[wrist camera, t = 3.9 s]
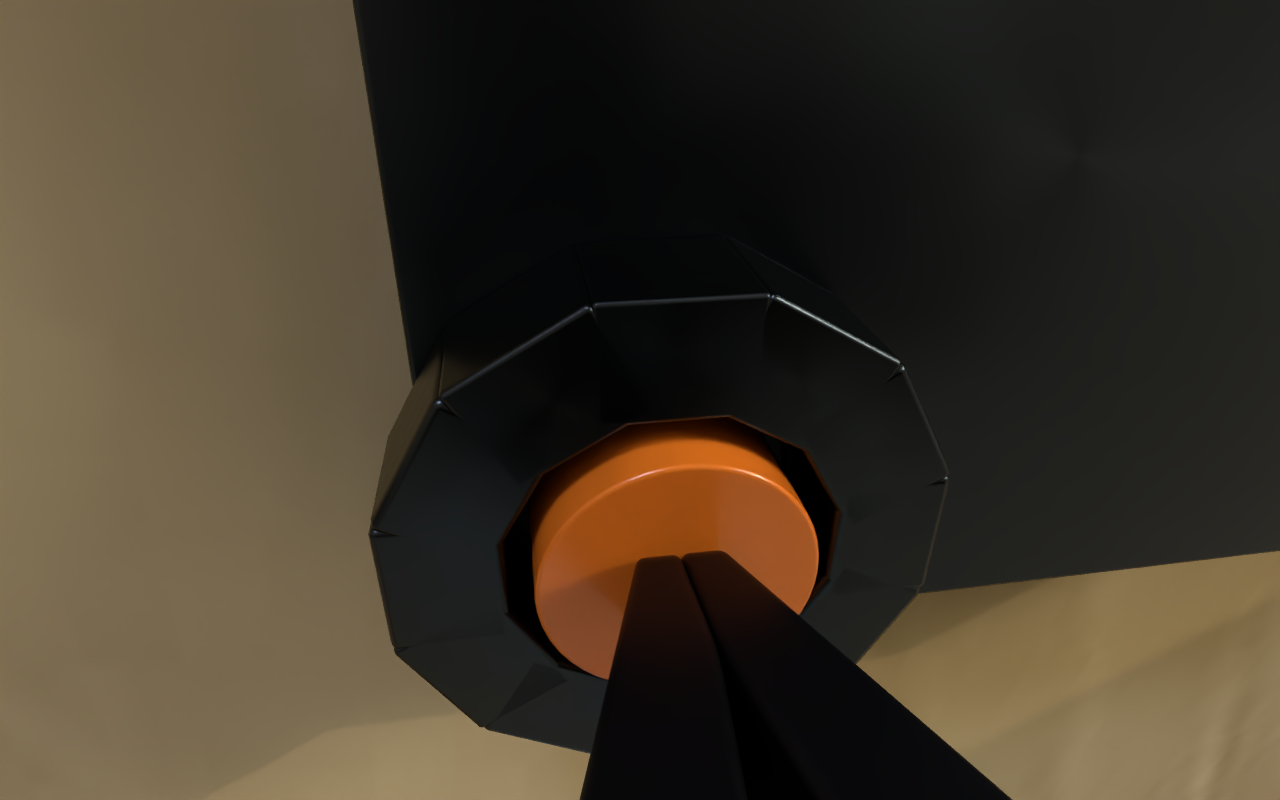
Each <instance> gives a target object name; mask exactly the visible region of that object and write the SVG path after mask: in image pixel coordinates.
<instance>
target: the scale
mask: <svg viewBox="0 0 1280 800" xmlns="http://www.w3.org/2000/svg"><path fill="white" fill-rule="evenodd" d="M353 7H354V13H355V20H356V26H357V33H358V39H359V45H360V52H361V58H362V65H363V71H364V78H365V84H366V90H367V97H368V103H369V110H370V116H371V122H372V129H373V135H374V142H375V148H376V155H377V161H378V167H379V174H380V180H381V187H382V193H383V200H384V206H385V212H386V219H387V225H388V232H389V238H390V245H391V251H392V257H393V264H394V270H395V277H396V283H397V290H398V296H399V302H400V309H401V315H402V322H403V328H404V335H405V341H406V347H407V354H408V360H409V367H410V373H411V380H412V386H413V387H412V390H411V392H410V394H409V396H408V398H407V400H406V402H405V404H404V406H403V408H402V410H401V412H400V414H399V416H398V418H397V420H396V422H395V424H394V426H393V428H392V430H391V432H390V434H389V436H388V440H387V444H386V449H385V454H384V459H383V464H382V468H381V473H380V478H379V483H378V488H377V492H376V497H375V502H374V507H373V511H372V516H371V525H370V529H369V534H368V535H369V539H370V544H371V549H372V554H373V559H374V563H375V568H376V573H377V578H378V582H379V587H380V592H381V597H382V602H383V606H384V611H385V616H386V621H387V625H388V630H389V635H390V640H391V643H392V645H393V647H394V651H395V654H396V655H397V656H398V657H399V658H400V659H402V660H403V661H404V662H405V663H406V664H407V665H409V666H410V667H411V668H412V669H413V670H414V671H416V672H417V673H418V674H419V675H420V676H421V677H423V678H424V679H425V680H426V681H427V682H428V683H429V684H431V685H432V686H433V687H434V688H435V689H436V690H438V691H439V692H440V693H441V694H442V695H443V696H445V697H446V698H447V699H448V700H449V701H450V702H452V703H453V704H454V705H455V706H456V707H457V708H459V709H460V710H461V711H462V712H463V713H464V714H466V715H467V716H468V717H469V718H470V719H471V720H472V721H474V722H475V723H476V724H477V725H478V726H479V727H485V728H486V729H487V730H490V731H494V732H499V733H503V734H507V735H512V736H516V737H520V738H525V739H529V740H533V741H538V742H542V743H546V744H551V745H555V746H559V747H564V748H568V749H572V750H577V751H581V752H585V753H590V754H591V750H592V746H593V742H594V737H595V733H596V729H597V725H598V721H599V717H600V712H601V708H602V704H603V700H604V696H605V691H606V687H607V683H608V680H606V679H603V678H600V677H597V676H595V675H593V674H591V673H589V672H587V671H585V670H583V669H581V668H579V667H578V666H576V665H575V664H573V663H572V662H570V661H569V660H568V659H567V658H566V657H565V656H563V655H562V654H561V653H560V652H559V651H558V650H557V648H556V647H555V646H554V645H553V644H552V642H551V641H550V640H549V638H548V637H547V635H546V633H545V631H544V630H543V628H542V626H541V623H540V620H539V617H538V615H537V610H536V604H535V597H534V582H533V568H532V553H531V539H530V525H529V510H528V499H529V498H530V496H531V494H532V493H533V491H534V489H535V488H536V486H537V484H538V483H539V481H540V479H541V478H542V476H543V474H545V473H547V472H548V471H550V470H552V469H554V468H555V467H557V466H559V465H561V464H562V463H564V462H566V461H567V460H569V459H571V458H573V457H574V456H576V455H578V454H580V453H581V452H583V451H585V450H586V449H588V448H590V447H592V446H593V445H595V444H597V443H599V442H600V441H602V440H604V439H605V438H607V437H609V436H611V435H612V434H614V433H616V432H617V431H619V430H621V429H623V428H624V427H626V426H628V425H635V424H647V423H659V422H672V421H684V420H696V419H709V418H721V417H729V418H731V419H734V420H736V421H738V422H740V423H743V424H745V425H747V426H749V427H752V428H754V429H756V430H758V431H761V432H762V434H763V435H764V437H765V439H766V441H767V442H768V444H769V446H770V448H771V449H772V451H773V453H774V455H775V457H776V458H777V460H778V462H779V464H780V465H781V467H782V469H783V471H784V473H785V474H786V476H787V478H788V480H789V481H790V483H791V485H792V487H793V488H794V490H795V492H796V494H797V496H798V497H799V499H800V501H801V503H802V504H803V506H804V508H805V510H806V511H807V513H808V515H809V517H810V519H811V522H812V524H813V526H814V529H815V532H816V536H817V540H818V550H819V560H818V571H817V576H816V580H815V584H814V587H813V589H812V592H811V594H810V597H809V599H808V601H807V603H806V604H805V606H804V608H803V610H802V612H801V613H800V614H799V616H800V617H802V618H803V619H804V620H805V621H806V622H807V623H808V624H810V625H811V626H812V627H813V628H814V629H815V630H817V631H818V632H819V633H820V634H821V635H822V636H823V637H825V638H826V639H827V640H828V641H829V642H830V643H832V644H833V645H834V646H835V647H836V648H837V649H839V650H840V651H841V652H842V653H843V654H844V655H845V656H847V657H848V658H849V659H850V660H851V661H852V662H854V663H855V664H857V662H858V661H859V660H860V659H861V658H862V657H863V656H864V655H865V653H866V652H867V651H868V650H869V649H870V648H871V647H872V646H873V644H874V643H875V642H876V641H877V640H878V639H879V638H880V637H881V635H882V634H883V633H884V632H885V631H886V630H887V629H888V628H889V626H890V625H891V624H892V623H893V622H894V621H895V620H896V619H897V617H898V616H899V615H900V614H901V613H902V612H903V611H904V610H905V608H906V607H907V606H908V605H909V604H910V603H911V602H912V601H913V599H914V598H915V597H916V596H917V595H918V594H921V593H929V592H938V591H946V590H954V589H963V588H971V587H980V586H988V585H997V584H1005V583H1013V582H1022V581H1030V580H1039V579H1047V578H1055V577H1064V576H1072V575H1081V574H1089V573H1097V572H1106V571H1114V570H1123V569H1131V568H1140V567H1148V566H1156V565H1165V564H1173V563H1182V562H1190V561H1198V560H1207V559H1215V558H1224V557H1232V556H1240V555H1249V554H1257V553H1266V552H1274V551H1280V0H353Z"/></svg>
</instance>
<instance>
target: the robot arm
mask: <svg viewBox="0 0 1280 800" xmlns="http://www.w3.org/2000/svg"><path fill="white" fill-rule="evenodd" d="M580 800H1012V799H1011V798H1010V797H1009V796H1007V795H1006V794H1005V793H1004V792H1003V791H1002V790H1000V789H999V788H998V787H997V786H996V785H995V784H994V783H992V782H991V781H990V780H989V779H988V778H987V777H985V776H984V775H983V774H982V773H981V772H980V771H979V770H977V769H976V768H975V767H974V766H973V765H972V764H970V763H969V762H968V761H967V760H966V759H965V758H963V757H962V756H961V755H960V754H959V753H958V752H957V751H955V750H954V749H953V748H952V747H951V746H950V745H948V744H947V743H946V742H945V741H944V740H943V739H941V738H940V737H939V736H938V735H937V734H936V733H935V732H933V731H932V730H931V729H930V728H929V727H928V726H926V725H925V724H924V723H923V722H922V721H921V720H920V719H918V718H917V717H916V716H915V715H914V714H913V713H911V712H910V711H909V710H908V709H907V708H906V707H904V706H903V705H902V704H901V703H900V702H899V701H898V700H896V699H895V698H894V697H893V696H892V695H891V694H889V693H888V692H887V691H886V690H885V689H884V688H882V687H881V686H880V685H879V684H878V683H877V682H876V681H874V680H873V679H872V678H871V677H870V676H869V675H867V674H866V673H865V672H864V671H863V670H862V669H861V668H859V667H858V666H857V665H856V664H855V663H854V662H852V661H851V660H850V659H849V658H848V657H847V656H845V655H844V654H843V653H842V652H841V651H840V650H839V649H837V648H836V647H835V646H834V645H833V644H832V643H830V642H829V641H828V640H827V639H826V638H825V637H823V636H822V635H821V634H820V633H819V632H818V631H817V630H815V629H814V628H813V627H812V626H811V625H810V624H808V623H807V622H806V621H805V620H804V619H803V618H802V617H800V616H799V615H798V614H797V613H796V612H795V611H793V610H792V609H791V608H790V607H789V606H788V605H786V604H785V603H784V602H783V601H782V600H781V599H780V598H778V597H777V596H776V595H775V594H774V593H773V592H771V591H770V590H769V589H768V588H767V587H766V586H764V585H763V584H762V583H761V582H760V581H759V580H758V579H756V578H755V577H754V576H753V575H752V574H751V573H749V572H748V571H747V570H746V569H745V568H744V567H743V566H741V565H740V564H739V563H738V562H737V561H736V560H734V559H733V558H732V557H731V556H730V555H729V554H727V553H725V552H723V551H720V550H715V551H705V552H696V553H688V554H685V555H684V556H683V557H682V558H681V559H680V558H679V557H677V556H675V555H667V556H658V557H648V558H642V559H640V560H638V562H637V563H636V566H635V570H634V574H633V578H632V582H631V587H630V591H629V595H628V599H627V603H626V608H625V612H624V616H623V620H622V624H621V628H620V633H619V637H618V641H617V645H616V649H615V654H614V658H613V662H612V666H611V670H610V675H609V679H608V683H607V687H606V691H605V696H604V700H603V704H602V708H601V712H600V717H599V721H598V725H597V729H596V733H595V737H594V742H593V746H592V750H591V754H590V758H589V763H588V767H587V771H586V775H585V779H584V784H583V788H582V792H581V796H580Z"/></svg>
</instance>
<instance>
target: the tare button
mask: <svg viewBox="0 0 1280 800" xmlns="http://www.w3.org/2000/svg"><path fill="white" fill-rule="evenodd" d="M528 510H529V525H530V539H531V553H532V568H533V582H534V597H535V604H536V610H537V615H538V617H539V620H540V623H541V626H542V628H543V630H544V631H545V633H546V635H547V637H548V638H549V640H550V641H551V642H552V644H553V645H554V646H555V647H556V648H557V650H558V651H559V652H560V653H561V654H562V655H563V656H565V657H566V658H567V659H568V660H569V661H570V662H572V663H573V664H575V665H576V666H578V667H579V668H581V669H583V670H585V671H587V672H589V673H591V674H593V675H595V676H597V677H600V678H603V679H606V680H608V679H609V675H610V670H611V666H612V662H613V658H614V654H615V649H616V645H617V641H618V637H619V633H620V628H621V624H622V620H623V616H624V612H625V608H626V603H627V599H628V595H629V591H630V587H631V582H632V578H633V574H634V570H635V566H636V563H637V562H638V560H640V559H642V558H648V557H658V556H667V555H675V556H677V557H679V558H680V559H681V558H682V557H683V556H684V555H685V554H688V553H696V552H705V551H715V550H720V551H723V552H725V553H727V554H729V555H730V556H731V557H732V558H733V559H734V560H736V561H737V562H738V563H739V564H740V565H741V566H743V567H744V568H745V569H746V570H747V571H748V572H749V573H751V574H752V575H753V576H754V577H755V578H756V579H758V580H759V581H760V582H761V583H762V584H763V585H764V586H766V587H767V588H768V589H769V590H770V591H771V592H773V593H774V594H775V595H776V596H777V597H778V598H780V599H781V600H782V601H783V602H784V603H785V604H786V605H788V606H789V607H790V608H791V609H792V610H793V611H795V612H796V613H797V614H798V615H799V614H800V613H801V612H802V610H803V608H804V606H805V604H806V603H807V601H808V599H809V597H810V594H811V592H812V589H813V587H814V584H815V580H816V576H817V571H818V560H819V550H818V540H817V536H816V532H815V529H814V526H813V524H812V522H811V519H810V517H809V515H808V513H807V511H806V510H805V508H804V506H803V504H802V503H801V501H800V499H799V497H798V496H797V494H796V492H795V490H794V488H793V487H792V485H791V483H790V481H789V480H788V478H787V476H786V474H785V473H784V471H783V469H782V467H781V465H780V464H779V462H778V460H777V458H776V457H775V455H774V453H773V451H772V449H771V448H770V446H769V444H768V442H767V441H766V439H765V437H764V435H763V434H762V432H761V431H758V430H756V429H754V428H752V427H749V426H747V425H745V424H743V423H740V422H738V421H736V420H734V419H731V418H729V417H721V418H709V419H696V420H684V421H672V422H659V423H647V424H635V425H628V426H626V427H624V428H623V429H621V430H619V431H617V432H616V433H614V434H612V435H611V436H609V437H607V438H605V439H604V440H602V441H600V442H599V443H597V444H595V445H593V446H592V447H590V448H588V449H586V450H585V451H583V452H581V453H580V454H578V455H576V456H574V457H573V458H571V459H569V460H567V461H566V462H564V463H562V464H561V465H559V466H557V467H555V468H554V469H552V470H550V471H548V472H547V473H545V474H543V476H542V478H541V479H540V481H539V483H538V484H537V486H536V488H535V489H534V491H533V493H532V494H531V496H530V498H529V499H528Z"/></svg>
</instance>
